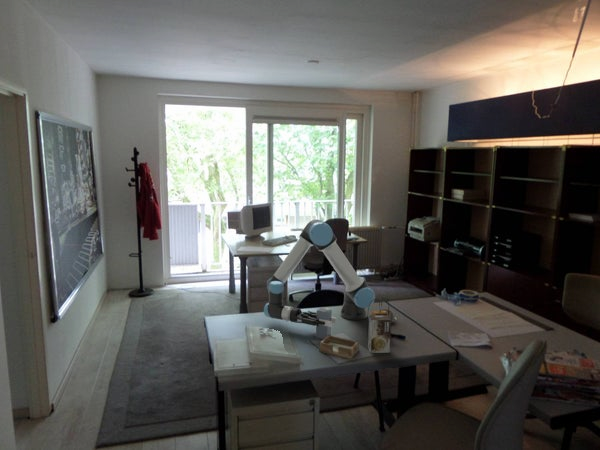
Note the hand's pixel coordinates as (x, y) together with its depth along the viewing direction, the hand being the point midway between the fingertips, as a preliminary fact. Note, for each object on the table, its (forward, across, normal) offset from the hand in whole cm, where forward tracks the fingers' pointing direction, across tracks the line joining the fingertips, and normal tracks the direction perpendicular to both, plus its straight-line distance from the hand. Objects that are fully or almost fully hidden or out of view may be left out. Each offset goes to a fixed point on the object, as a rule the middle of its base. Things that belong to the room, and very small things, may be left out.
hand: (333, 322), depth 208 cm
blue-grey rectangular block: (-5, 0, -8) cm, 10 cm away
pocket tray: (+8, +12, -8) cm, 17 cm away
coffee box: (+24, +2, -9) cm, 25 cm away
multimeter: (+22, -12, -9) cm, 26 cm away
